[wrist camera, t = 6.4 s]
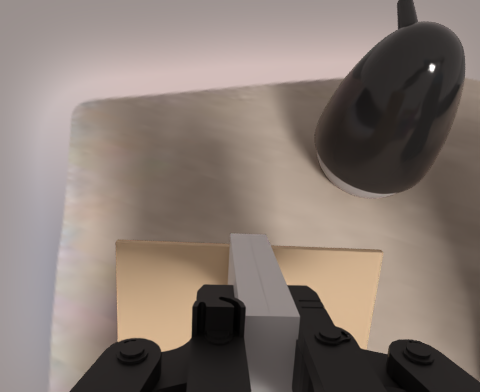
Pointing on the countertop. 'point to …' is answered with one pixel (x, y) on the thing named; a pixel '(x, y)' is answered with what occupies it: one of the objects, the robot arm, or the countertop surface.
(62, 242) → the countertop surface
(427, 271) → the countertop surface
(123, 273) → the front flap
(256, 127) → the countertop surface
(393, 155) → the pump dispenser
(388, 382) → the robot arm
